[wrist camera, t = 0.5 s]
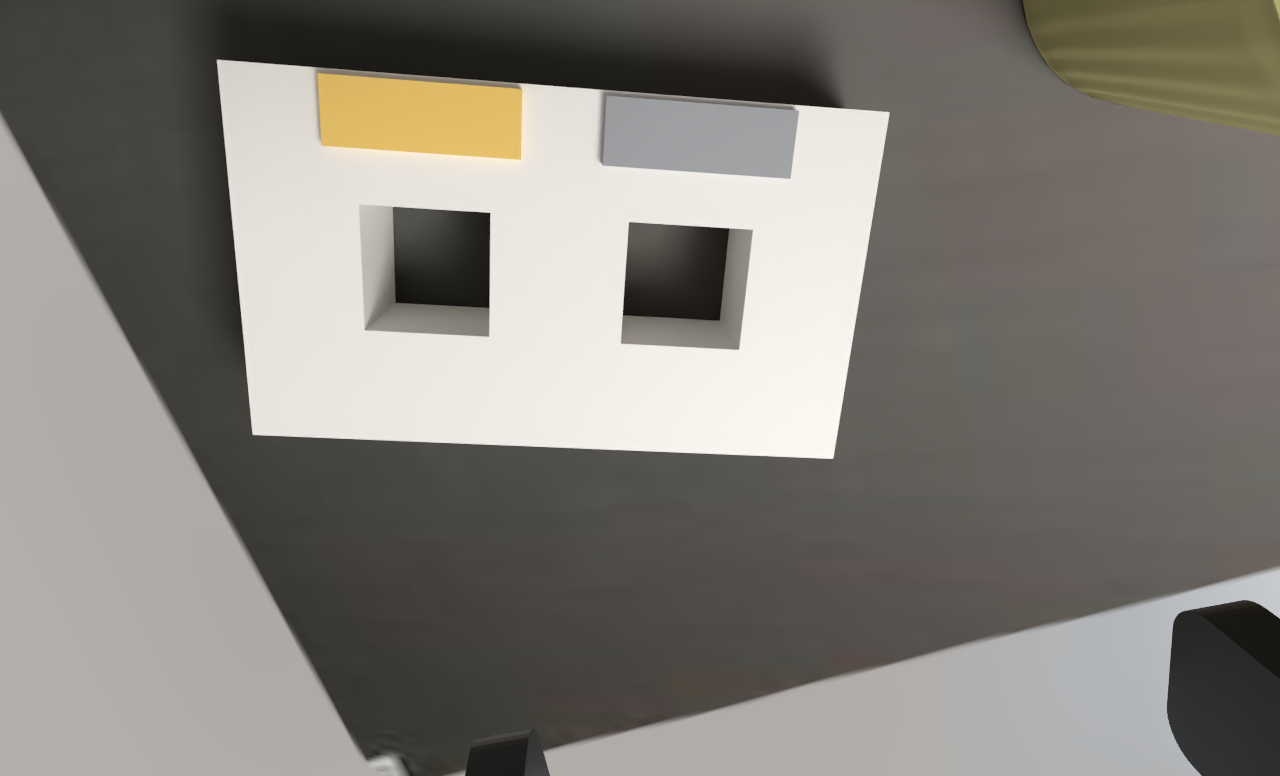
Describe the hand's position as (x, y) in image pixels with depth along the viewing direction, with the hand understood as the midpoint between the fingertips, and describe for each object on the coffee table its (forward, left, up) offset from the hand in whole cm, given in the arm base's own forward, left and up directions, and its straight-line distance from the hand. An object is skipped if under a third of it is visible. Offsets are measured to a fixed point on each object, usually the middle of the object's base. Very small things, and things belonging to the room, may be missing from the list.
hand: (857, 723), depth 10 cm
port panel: (-1, -5, -27) cm, 28 cm away
